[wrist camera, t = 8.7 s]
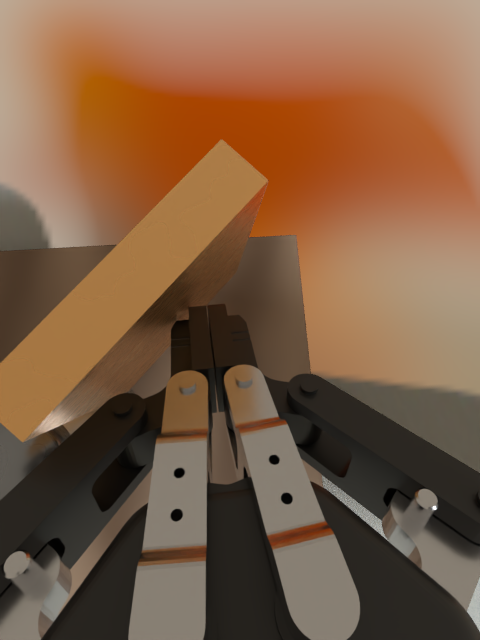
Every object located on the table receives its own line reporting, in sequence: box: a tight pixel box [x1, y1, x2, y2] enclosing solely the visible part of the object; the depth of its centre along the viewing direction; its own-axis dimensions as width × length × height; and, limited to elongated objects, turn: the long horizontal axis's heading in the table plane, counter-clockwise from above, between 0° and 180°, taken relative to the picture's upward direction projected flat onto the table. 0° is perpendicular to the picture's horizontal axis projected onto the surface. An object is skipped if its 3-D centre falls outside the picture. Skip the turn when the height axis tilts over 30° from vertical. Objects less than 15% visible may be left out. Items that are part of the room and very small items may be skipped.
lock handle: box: [0, 139, 268, 500], centre depth 14 cm, size 16×8×11 cm, turn 138°
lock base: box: [0, 235, 323, 617], centre depth 20 cm, size 20×20×2 cm
